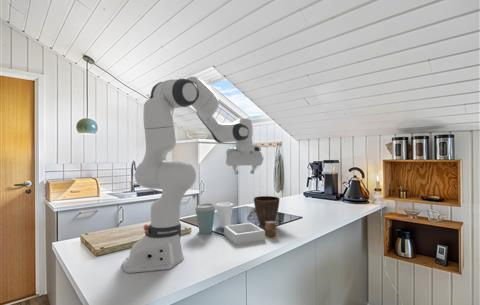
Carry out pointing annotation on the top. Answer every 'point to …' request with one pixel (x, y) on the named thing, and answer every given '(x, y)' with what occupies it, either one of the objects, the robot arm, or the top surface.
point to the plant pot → (266, 208)
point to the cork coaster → (272, 237)
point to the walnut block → (270, 229)
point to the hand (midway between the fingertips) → (244, 173)
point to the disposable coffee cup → (205, 217)
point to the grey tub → (244, 233)
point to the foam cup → (224, 214)
